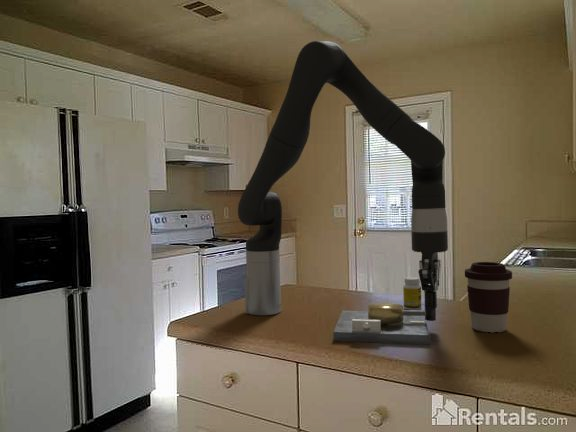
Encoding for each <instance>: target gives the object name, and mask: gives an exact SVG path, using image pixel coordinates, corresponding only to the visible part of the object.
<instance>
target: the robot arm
mask: <svg viewBox="0 0 576 432" xmlns="http://www.w3.org/2000/svg"><path fill="white" fill-rule="evenodd" d="M325 84H330V85H331V86H333V87H334V88H335V89H337V90H339V91H340V92H341V93H343V94H344V95H345V97H347V98H348V99H349V100H350V101H351V102H352V104H353V105H354V106H355V108H356V109H357V110H358V112H359V113H360V115H361V116H362V118H363V119H364V120H365V121H366V123H367V124H368V125H369V126H370V127H372V129H373V130H375V132H377V133H378V134H379V135H380V137H383V139H384V140H386V141H387V142H388V143H390V144H391V145H394V146H395V147H396V148H397V149H399V151H401V152H402V153H403V154H404V155H405V156H406V157H407V158H408V159H409V160H410V166H411V167H410V168H411V179H412V181H411V182H412V187H411V217H410V230H411V250H412V251H413V252H414V253H421V259H420V260H419V263H418V264H419V265H418V266H419V267H418V268H419V269H418V276H419V277H418V278H419V279H420V286H421V291H423V292H425V294H424V309H425V308H426V309H429V310H435V309H436V310H437V308H438V299H437V298H438V297H437V292H438V290H439V287H440V279H441V277H440V275H441V266H442V262H441V261H442V260H441V259H439V255H438V253H444V252H447V251H448V249H449V244H448V242H449V241H448V240H449V239H448V216H447V209H446V189H445V184H444V159H445V156H446V148H445V146H444V144H443V142H442V141H441V140H440V139H439V138H438V137H437V135H435V134H433V133H432V132H431V131H429V130H428V129H427V128H426V127H424V126H422V125H421V124H419V123H418V122H416V121H415V120H414V119H413V118H412V117H411V116H410V115H409V114H408V113H406V112H405V111H404V110H403V109H402V108H401V107H399V105H397V104H396V103H395V102H394V101H393V100H391V99H390V98H389V97H388V96H387V95H386V94H384V92H382V91H381V90H380V89H379V88H378V87H377V86H376V85H374V83H373V82H371V81H370V80H369V79H368V77H367V76H366V75H365V74H364V73H363V72H362V71H361V70H360V69H359V68H358V67H357V65H356V64H355V63H354V62H353V60H352V59H351V57H350V56H349V55H348V54H347V53H346V52H345V51H344V50H343V48H342V47H341V46H340V45H339V44H337V43H336V42H333V41H331V40H313V41H310V42H308V43H306V44H305V45H304V46H303V47H302V48H301V50H300V51H299V53H298V54H297V58H296V60H295V64H294V68H293V71H292V74H291V78H290V81H289V85H288V88H287V92H286V94H285V97H284V98H283V101H282V104H281V106H280V108H279V111H278V113H277V117H276V119H275V121H274V124H273V125H272V128H271V129H270V132H269V135H268V138H267V140H266V143H265V146H264V148H263V150H262V153H261V156H260V158H259V160H258V162H257V165H256V166H255V170H254V171H253V173H252V176H251V177H250V179H249V181H248V182H247V185H246V187H245V188H244V190H243V193H242V194H241V196H240V199H239V201H238V206H237V216H238V219H239V221H240V223H241V224H243V225H246V226H250V227H251V226H253V227H255V226H259V229H258V231H257V233H255V235H253V236H251V237H250V238H248V239H247V240H246V242H245V260H246V261H245V263H246V265H245V266H246V277H245V278H244V280H243V281H244V306H245V307H244V311H245V313H244V314H246V315H247V314H249V315H252V316H271V315H272V316H273V315H276V314H280V313H281V311H282V299H281V298H282V297H281V296H282V295H281V293H282V292H281V265H280V263H281V261H280V243H281V239H282V224H283V223H282V221H283V220H282V219H283V216H282V215H283V208H282V201H281V198H280V197H279V195H278V194H277V193H276V192H274V191H270V190H271V189H272V187H273V186H274V185H275V184H276V183H277V182H278V181H279V180H280V179H281V178H282V177H283V176H285V174H287V173H288V172H289V171H290V170H291V169H292V168H294V166H295V165H296V164H297V162H298V161H299V159H300V157H301V155H302V154H303V151H304V149H305V147H306V145H307V143H308V139H309V136H310V130H311V118H312V117H311V116H312V111H313V108H314V105H315V103H316V101H317V99H318V96H319V95H320V93H321V91H322V89H323V87H324V86H325Z"/></svg>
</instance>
